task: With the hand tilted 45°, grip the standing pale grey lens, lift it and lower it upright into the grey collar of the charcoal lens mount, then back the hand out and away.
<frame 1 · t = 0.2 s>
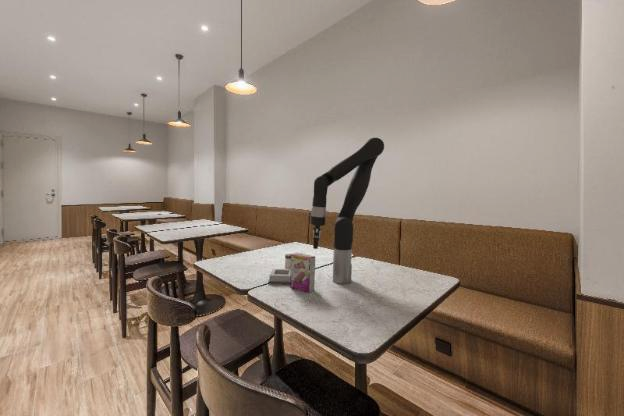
hand: (315, 246, 138), 18 cm above the table, tool pointing down, fingers open, 8 cm apart
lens: (289, 272, 151), on the table
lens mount: (281, 280, 139), on the table
candy bar box: (302, 289, 128), on the table
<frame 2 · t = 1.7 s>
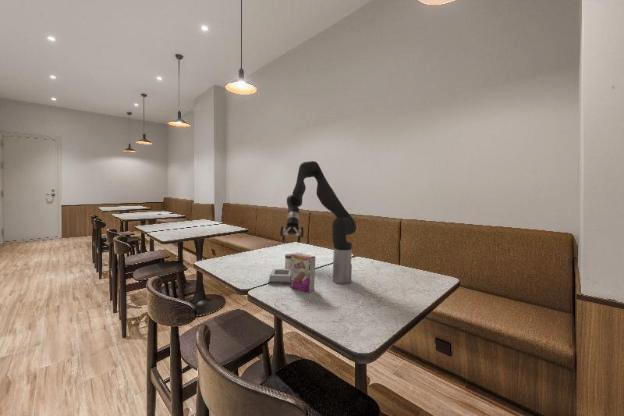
hand: (291, 241, 161), 15 cm above the table, tool tilted 45°, fingers open, 8 cm apart
nothing on the table moved.
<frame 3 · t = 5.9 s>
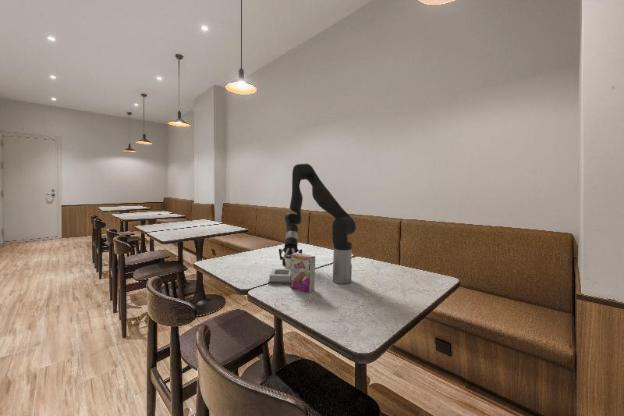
hand: (289, 266, 149), 4 cm above the table, tool tilted 45°, fingers closed on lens, 5 cm apart
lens: (289, 272, 151), on the table, touching gripper
everything else where it was.
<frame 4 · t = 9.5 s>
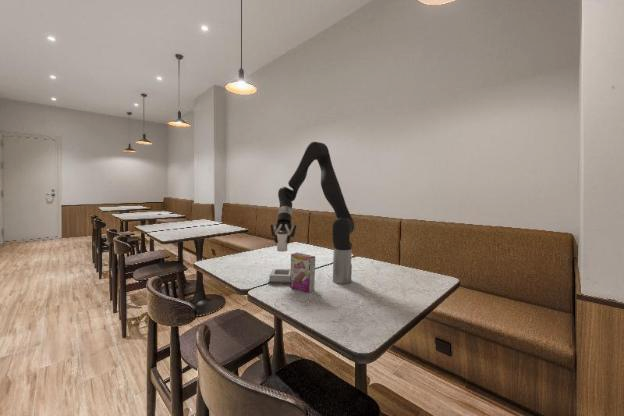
hand: (281, 242, 135), 20 cm above the table, tool tilted 45°, fingers closed on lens, 5 cm apart
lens: (282, 250, 138), point 16 cm above the table, touching gripper
everything else where it was.
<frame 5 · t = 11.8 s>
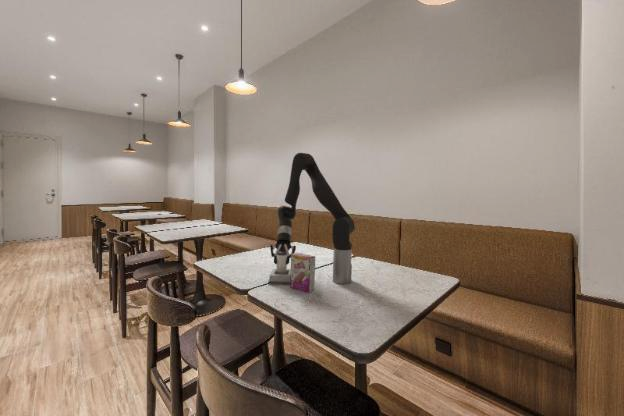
hand: (281, 263, 136), 9 cm above the table, tool tilted 45°, fingers closed on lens, 5 cm apart
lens: (281, 270, 139), point 5 cm above the table, touching gripper
everything else where it was.
when the fingers open (7 cm above the table, at t = 13.4 s): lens drops 1 cm, resting on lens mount.
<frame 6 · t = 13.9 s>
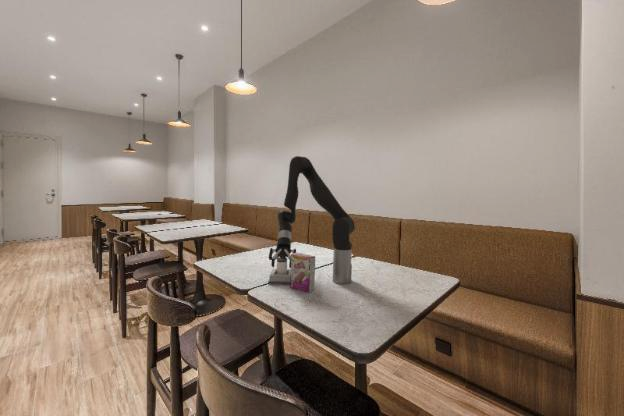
hand: (281, 267, 137), 7 cm above the table, tool tilted 45°, fingers open, 8 cm apart
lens: (281, 277, 139), point 1 cm above the table, touching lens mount
everything else where it was.
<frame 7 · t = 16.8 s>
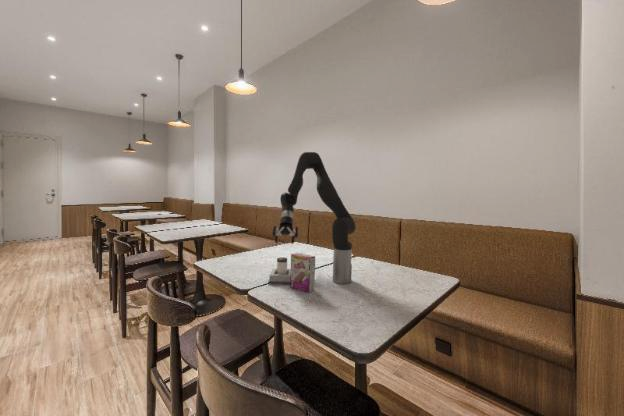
hand: (284, 242, 149), 17 cm above the table, tool tilted 45°, fingers open, 8 cm apart
nothing on the table moved.
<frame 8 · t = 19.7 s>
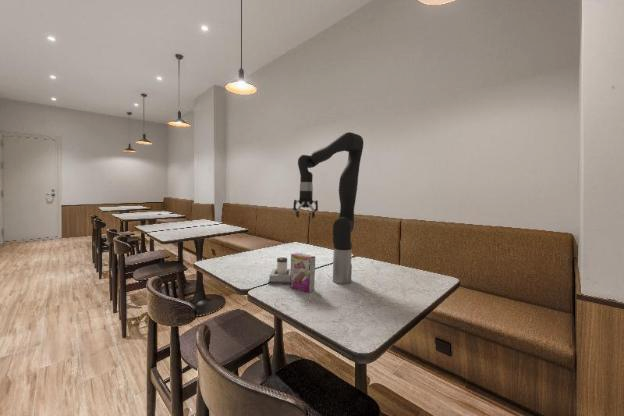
hand: (305, 217, 157), 30 cm above the table, tool pointing down, fingers open, 8 cm apart
nothing on the table moved.
at the end: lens 0.2 cm off-centre on the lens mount, point 1.2 cm above the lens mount's base; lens tilted 0°; the gripper is holding nothing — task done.
